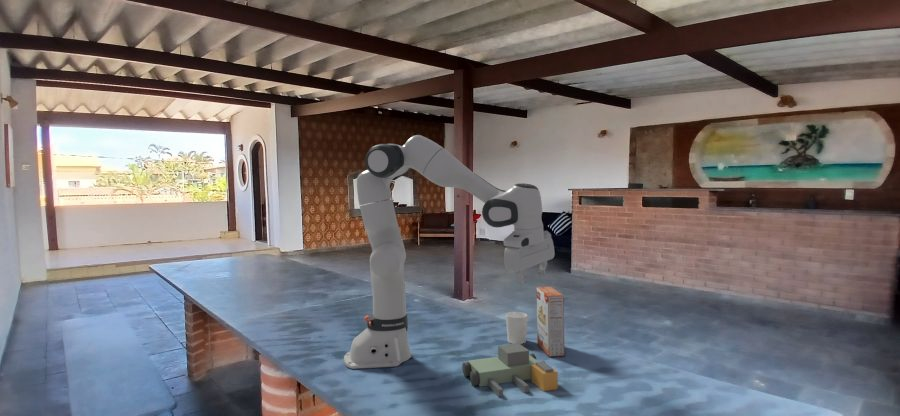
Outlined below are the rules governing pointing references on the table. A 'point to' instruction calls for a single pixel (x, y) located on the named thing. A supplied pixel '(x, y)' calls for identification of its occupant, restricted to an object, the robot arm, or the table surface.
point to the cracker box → (550, 321)
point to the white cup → (516, 327)
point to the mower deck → (502, 368)
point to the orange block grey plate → (544, 376)
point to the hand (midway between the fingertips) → (532, 279)
